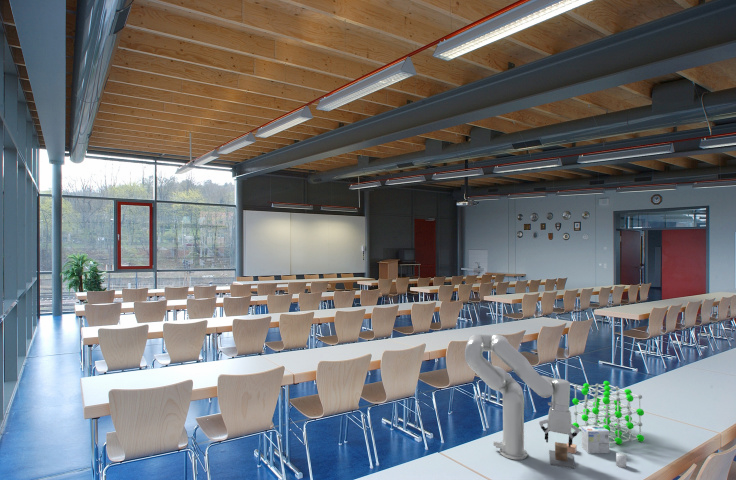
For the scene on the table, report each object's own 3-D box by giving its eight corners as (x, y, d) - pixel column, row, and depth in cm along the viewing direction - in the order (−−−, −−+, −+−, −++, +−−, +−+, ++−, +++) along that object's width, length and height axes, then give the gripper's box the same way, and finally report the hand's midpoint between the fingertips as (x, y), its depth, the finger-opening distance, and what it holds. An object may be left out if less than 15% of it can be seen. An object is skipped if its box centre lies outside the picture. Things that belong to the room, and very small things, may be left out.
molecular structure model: (606, 448, 218) (606, 398, 218) (570, 428, 242) (570, 383, 242) (645, 442, 224) (645, 394, 225) (607, 423, 248) (606, 379, 249)
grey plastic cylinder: (616, 467, 199) (616, 456, 199) (615, 463, 203) (615, 452, 203) (627, 468, 197) (627, 457, 197) (625, 464, 201) (625, 453, 201)
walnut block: (555, 459, 204) (555, 446, 204) (555, 454, 209) (554, 442, 209) (567, 461, 202) (567, 448, 202) (566, 456, 207) (566, 443, 207)
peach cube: (565, 451, 214) (565, 445, 214) (567, 448, 217) (567, 442, 217) (574, 454, 212) (574, 447, 212) (576, 450, 215) (576, 444, 215)
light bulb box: (602, 447, 219) (602, 425, 219) (610, 453, 212) (609, 430, 212) (580, 447, 218) (580, 425, 219) (588, 453, 212) (587, 431, 212)
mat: (550, 464, 201) (550, 463, 201) (549, 451, 214) (549, 449, 214) (574, 468, 197) (574, 467, 197) (571, 455, 210) (571, 453, 210)
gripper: (540, 406, 205) (538, 442, 206) (581, 413, 199) (579, 451, 199) (540, 400, 213) (538, 436, 213) (579, 407, 206) (577, 444, 206)
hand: (558, 443), depth 206 cm, fingers open, 9 cm apart
